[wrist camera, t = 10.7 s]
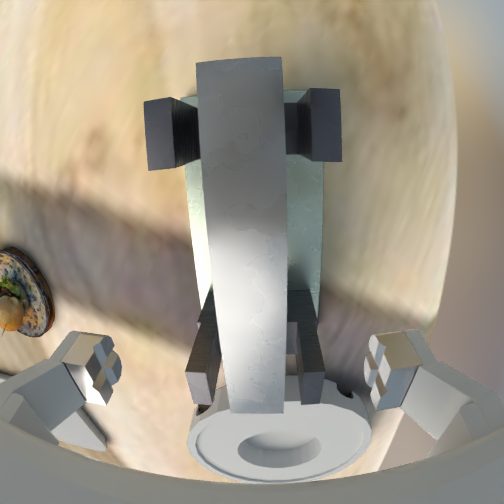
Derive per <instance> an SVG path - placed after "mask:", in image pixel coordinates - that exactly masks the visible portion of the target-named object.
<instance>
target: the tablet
mask: <svg viewBox="0 0 504 504" xmlns="http://www.w3.org/2000/svg"><path fill="white" fill-rule="evenodd" d="M11 377H13V376H9V375H5V374H2V373H0V383H2V382H3V381H5V380H7V379H9V378H11ZM51 433H52V434H53V435H54V436H55V437H56V438H57V439H58V440H61V441H64V442H67V443H71V444H74V445H77V446H81V447H85V448H88V449H92V450H96V451H101V452H104V451H106V449H107V444H106V443H105V441H106V438H105V437H104V435H103V434H102V433H101V432H100V431H99V430H98V428H97V427H96V426H95V425H94V423H93V422H92V421H91V420H90V418H89V417H88V416H87V415H86V413H85V412H84V411H83V409H82V408H81V407H80V408H79V409H78V410H77V411H75V412H74V413H73V414H72V415H70V416H69V417H68V418H67V419H66V420H64V421H63V422H62V423H61V424H59V425H58V426H57V427H56V428H54V429H53V430H52V431H51Z"/></svg>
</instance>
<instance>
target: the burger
mask: <svg viewBox="0 0 504 504" xmlns="http://www.w3.org/2000/svg"><path fill="white" fill-rule="evenodd" d="M54 318H55V308H54V303H53V299H52V296H51V293H50V290H49V288H48V286H47V283H46V281H45V279H44V278H43V276H42V274H41V272H40V271H39V269H38V268H37V267H36V265H35V264H34V263H33V262H32V260H31V259H30V258H29V257H28V256H25V255H24V253H22V252H21V251H19V250H17V249H16V248H14V247H10V248H7V249H4V250H0V327H1V328H3V329H4V330H7V331H16V330H17V331H18V332H20V333H21V334H24V335H26V336H29V337H41V336H42V335H43V334H44V333H46V332H47V331H48V330H49V329H50V328H51V327H52V323H53V321H54ZM3 332H4V331H3ZM2 335H3V334H2Z"/></svg>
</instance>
